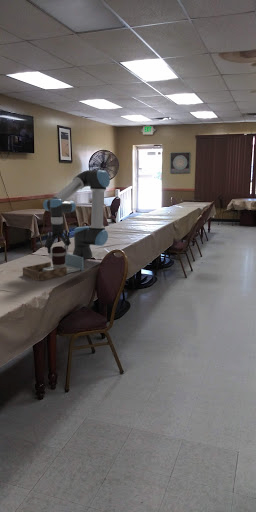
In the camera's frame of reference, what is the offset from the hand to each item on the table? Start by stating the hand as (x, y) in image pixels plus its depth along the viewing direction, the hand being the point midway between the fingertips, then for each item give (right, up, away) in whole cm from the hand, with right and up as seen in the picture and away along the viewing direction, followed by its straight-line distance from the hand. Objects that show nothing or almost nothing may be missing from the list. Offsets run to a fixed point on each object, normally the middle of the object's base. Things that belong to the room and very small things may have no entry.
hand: (58, 256), depth 255 cm
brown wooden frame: (-8, -12, -6) cm, 15 cm away
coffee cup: (0, -9, +2) cm, 9 cm away
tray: (+2, -9, +4) cm, 10 cm away
